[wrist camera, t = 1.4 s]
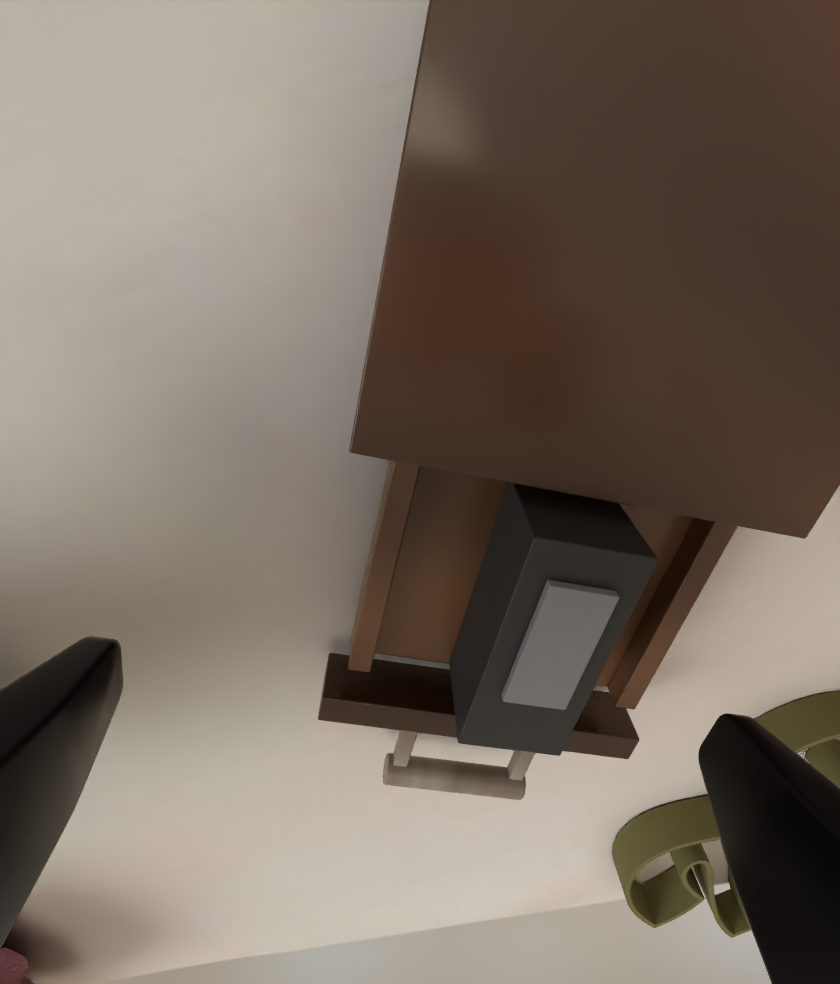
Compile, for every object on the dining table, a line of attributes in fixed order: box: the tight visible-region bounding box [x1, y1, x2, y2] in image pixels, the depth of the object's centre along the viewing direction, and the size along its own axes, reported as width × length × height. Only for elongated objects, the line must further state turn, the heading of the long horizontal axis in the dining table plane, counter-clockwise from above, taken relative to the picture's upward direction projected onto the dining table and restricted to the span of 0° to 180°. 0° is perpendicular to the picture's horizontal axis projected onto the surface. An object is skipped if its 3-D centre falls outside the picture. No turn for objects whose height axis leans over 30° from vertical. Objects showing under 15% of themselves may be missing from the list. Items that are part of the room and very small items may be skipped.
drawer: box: [318, 460, 737, 800], centre depth 20 cm, size 18×12×2 cm
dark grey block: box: [449, 482, 658, 756], centre depth 18 cm, size 8×4×4 cm, turn 167°
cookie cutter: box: [612, 692, 840, 938], centre depth 28 cm, size 18×12×2 cm, turn 138°
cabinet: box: [349, 0, 840, 538], centre depth 14 cm, size 15×14×4 cm
